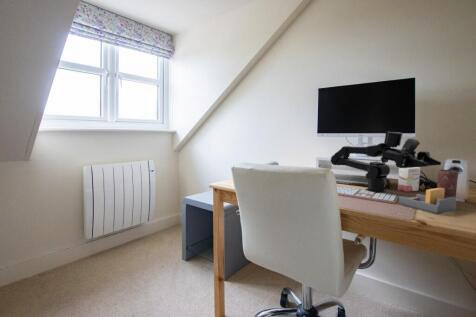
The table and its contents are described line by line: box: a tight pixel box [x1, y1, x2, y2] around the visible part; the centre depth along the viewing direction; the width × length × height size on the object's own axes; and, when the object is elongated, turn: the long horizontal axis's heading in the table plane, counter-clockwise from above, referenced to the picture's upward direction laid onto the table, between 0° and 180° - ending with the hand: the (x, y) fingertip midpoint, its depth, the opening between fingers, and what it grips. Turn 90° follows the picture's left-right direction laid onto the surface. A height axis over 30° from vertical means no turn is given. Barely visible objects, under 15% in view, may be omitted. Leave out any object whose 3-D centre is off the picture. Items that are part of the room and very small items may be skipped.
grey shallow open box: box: [398, 193, 457, 215], centre depth 100 cm, size 14×12×5 cm
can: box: [436, 169, 459, 202], centre depth 103 cm, size 6×6×14 cm
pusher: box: [425, 187, 445, 205], centre depth 97 cm, size 2×9×7 cm, turn 114°
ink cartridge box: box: [397, 165, 421, 193], centre depth 127 cm, size 9×5×15 cm, turn 111°
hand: (434, 164), depth 103 cm, fingers open, 9 cm apart
